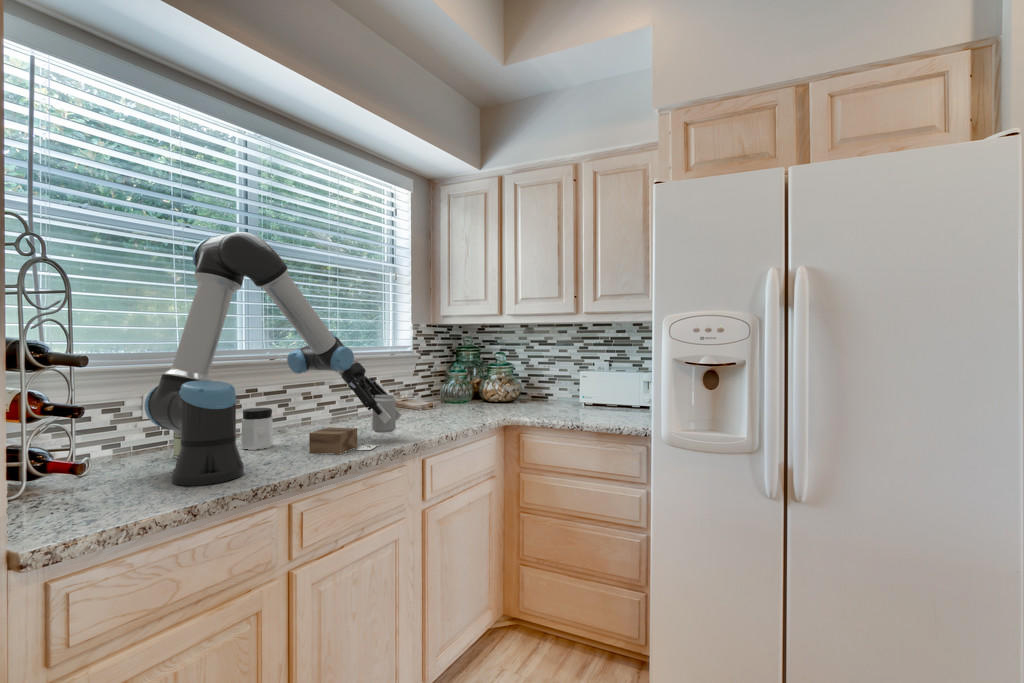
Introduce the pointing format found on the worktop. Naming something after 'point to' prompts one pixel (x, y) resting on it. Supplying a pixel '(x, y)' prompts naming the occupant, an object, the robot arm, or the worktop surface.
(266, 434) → the jar
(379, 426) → the can
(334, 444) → the walnut block
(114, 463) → the worktop surface
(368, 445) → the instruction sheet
